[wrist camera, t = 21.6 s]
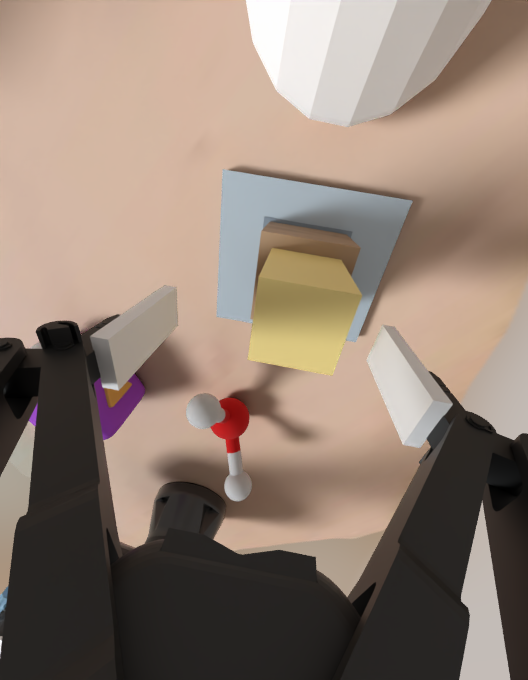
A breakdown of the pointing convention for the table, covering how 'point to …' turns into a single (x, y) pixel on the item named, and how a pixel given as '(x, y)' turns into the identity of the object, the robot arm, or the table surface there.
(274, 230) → the walnut block
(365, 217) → the plate
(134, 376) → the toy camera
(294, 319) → the mustard block
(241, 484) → the molecular model
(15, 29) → the table surface
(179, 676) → the robot arm
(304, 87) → the white faceted vase
